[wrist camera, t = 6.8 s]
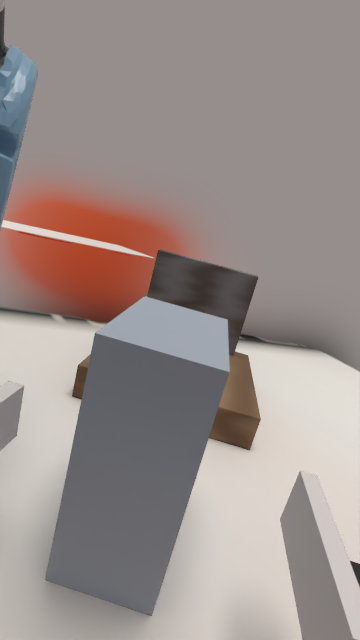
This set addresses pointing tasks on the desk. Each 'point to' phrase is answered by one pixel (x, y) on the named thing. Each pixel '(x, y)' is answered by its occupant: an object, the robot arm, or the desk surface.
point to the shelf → (232, 304)
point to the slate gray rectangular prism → (138, 450)
